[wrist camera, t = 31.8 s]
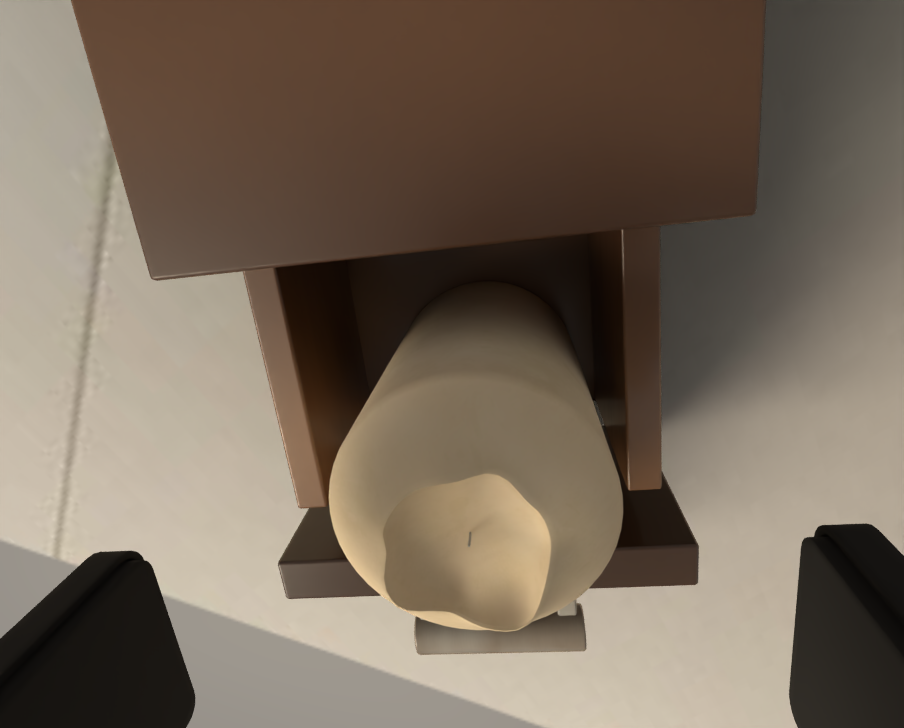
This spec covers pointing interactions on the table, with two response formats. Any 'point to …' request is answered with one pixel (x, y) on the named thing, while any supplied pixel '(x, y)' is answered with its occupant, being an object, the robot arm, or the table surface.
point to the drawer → (375, 342)
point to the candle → (479, 467)
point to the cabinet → (420, 122)
